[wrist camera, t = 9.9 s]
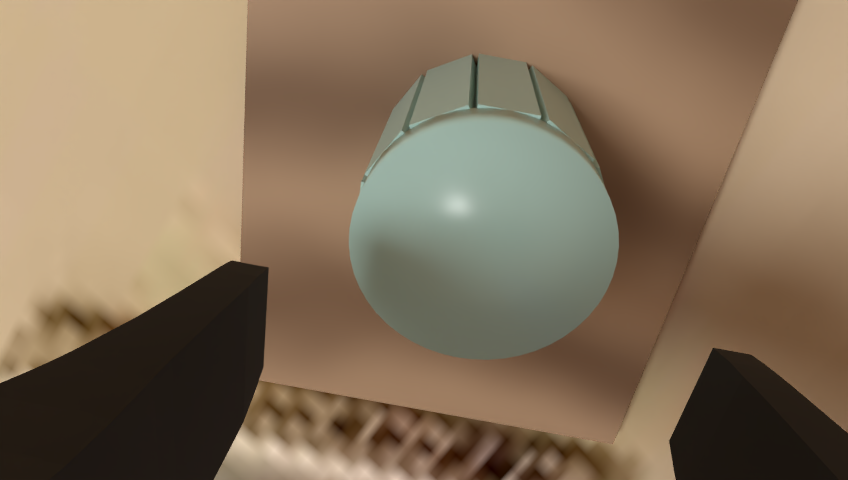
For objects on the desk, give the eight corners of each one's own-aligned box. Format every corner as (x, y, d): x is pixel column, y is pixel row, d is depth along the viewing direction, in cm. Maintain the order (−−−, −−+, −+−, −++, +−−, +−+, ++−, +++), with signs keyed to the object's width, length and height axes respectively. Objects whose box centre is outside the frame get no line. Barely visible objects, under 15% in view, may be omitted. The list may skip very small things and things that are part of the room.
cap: (551, 253, 20) (576, 379, 15) (375, 221, 20) (336, 335, 15) (603, 76, 17) (657, 151, 12) (401, 39, 17) (364, 98, 12)
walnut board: (608, 424, 24) (612, 444, 23) (246, 359, 24) (237, 376, 23) (861, -203, 15) (885, -210, 14) (270, -312, 15) (257, -326, 14)
